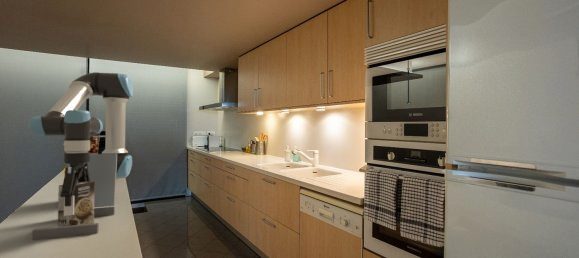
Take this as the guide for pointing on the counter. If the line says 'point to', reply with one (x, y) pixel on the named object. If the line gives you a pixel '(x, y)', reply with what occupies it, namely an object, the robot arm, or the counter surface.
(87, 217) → the coffee box
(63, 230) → the rails
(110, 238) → the counter surface
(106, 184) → the panel
